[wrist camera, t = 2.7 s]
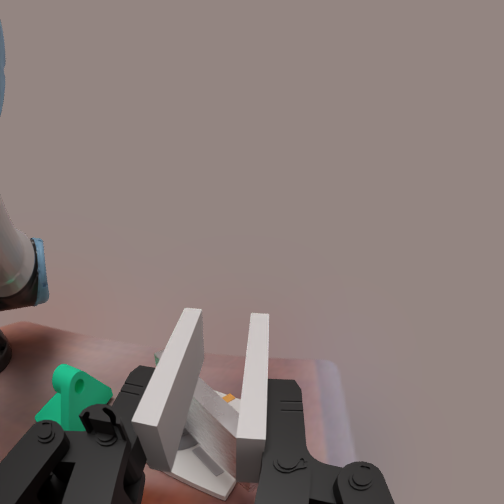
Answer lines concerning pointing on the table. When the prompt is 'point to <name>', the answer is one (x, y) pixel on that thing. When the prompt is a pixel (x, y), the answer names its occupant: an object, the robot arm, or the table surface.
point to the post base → (203, 464)
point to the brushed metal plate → (213, 426)
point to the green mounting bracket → (72, 397)
